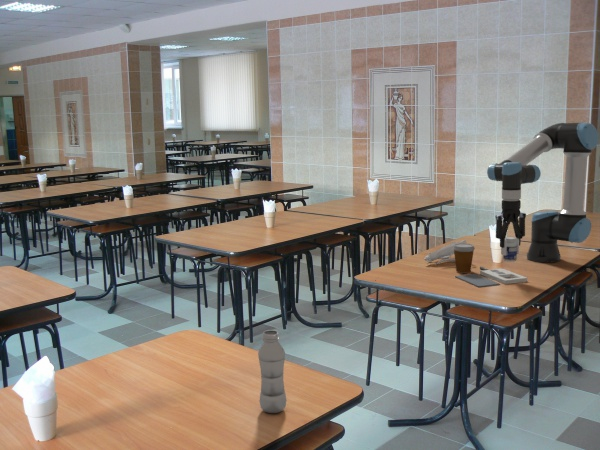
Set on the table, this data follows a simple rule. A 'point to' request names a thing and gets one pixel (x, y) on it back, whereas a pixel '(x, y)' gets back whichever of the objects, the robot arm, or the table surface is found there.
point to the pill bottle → (511, 250)
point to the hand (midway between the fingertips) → (510, 253)
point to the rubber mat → (477, 280)
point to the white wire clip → (442, 253)
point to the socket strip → (502, 275)
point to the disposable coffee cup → (463, 257)
